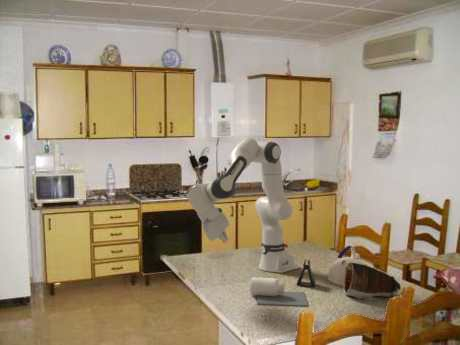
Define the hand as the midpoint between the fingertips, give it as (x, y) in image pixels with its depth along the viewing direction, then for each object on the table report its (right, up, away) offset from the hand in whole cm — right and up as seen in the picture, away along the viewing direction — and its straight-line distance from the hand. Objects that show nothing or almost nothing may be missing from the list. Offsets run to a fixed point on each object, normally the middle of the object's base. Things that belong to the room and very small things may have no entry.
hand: (226, 241), depth 212 cm
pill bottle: (+11, -20, 0) cm, 23 cm away
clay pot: (+68, -26, +3) cm, 73 cm away
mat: (+25, -25, -4) cm, 36 cm away
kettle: (+62, -24, +25) cm, 71 cm away
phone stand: (+39, -24, +17) cm, 49 cm away
